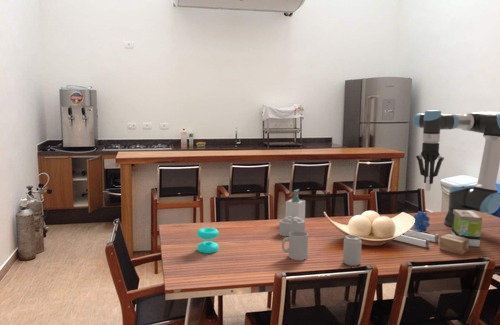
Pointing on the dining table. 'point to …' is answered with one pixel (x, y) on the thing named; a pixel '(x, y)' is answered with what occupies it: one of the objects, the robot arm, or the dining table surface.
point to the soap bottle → (295, 207)
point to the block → (454, 244)
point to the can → (352, 250)
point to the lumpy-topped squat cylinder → (291, 225)
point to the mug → (297, 245)
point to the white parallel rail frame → (418, 241)
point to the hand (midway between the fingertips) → (428, 189)
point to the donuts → (207, 245)
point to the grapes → (421, 221)
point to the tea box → (467, 226)
